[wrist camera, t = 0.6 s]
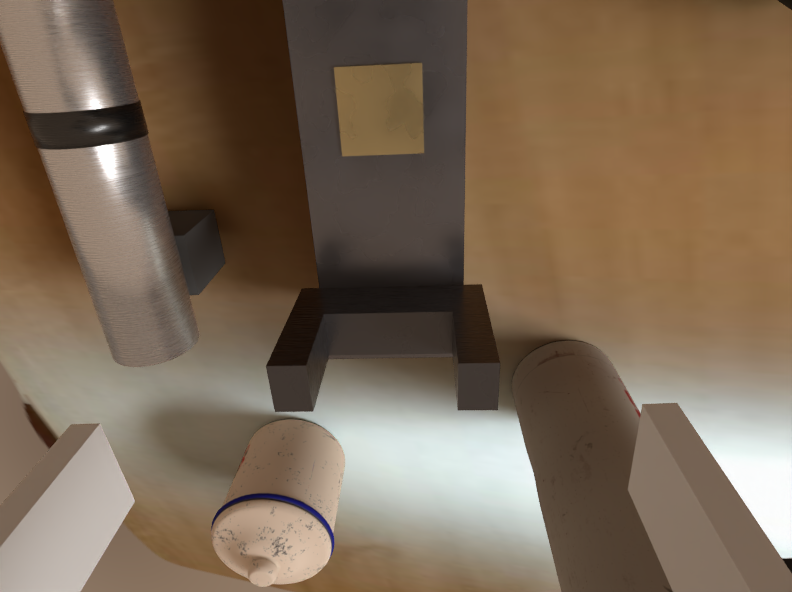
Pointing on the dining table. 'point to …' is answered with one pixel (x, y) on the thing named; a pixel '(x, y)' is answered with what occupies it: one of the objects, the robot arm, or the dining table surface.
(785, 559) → the robot arm
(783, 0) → the squash
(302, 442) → the teacup with lid
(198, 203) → the dining table surface
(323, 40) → the grey cradle stand
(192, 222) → the posts
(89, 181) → the tube
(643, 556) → the thermos bottle
